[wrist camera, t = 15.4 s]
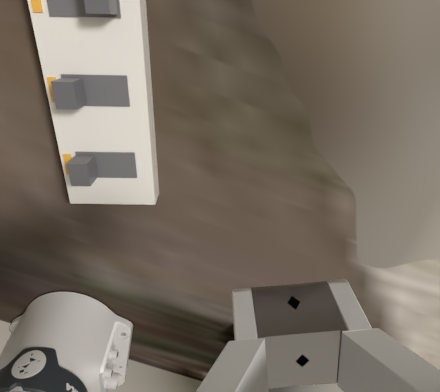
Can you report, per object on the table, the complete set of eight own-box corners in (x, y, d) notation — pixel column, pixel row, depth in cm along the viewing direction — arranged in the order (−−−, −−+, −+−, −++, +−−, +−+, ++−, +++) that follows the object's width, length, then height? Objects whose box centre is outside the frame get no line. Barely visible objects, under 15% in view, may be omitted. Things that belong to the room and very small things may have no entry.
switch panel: (159, 193, 42) (155, 205, 39) (79, 192, 42) (69, 204, 39) (141, -63, 30) (133, -72, 27) (29, -66, 30) (10, -76, 27)
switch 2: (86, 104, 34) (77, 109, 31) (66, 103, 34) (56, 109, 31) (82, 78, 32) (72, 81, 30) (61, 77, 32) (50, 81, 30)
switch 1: (98, 176, 37) (90, 186, 35) (79, 176, 37) (71, 186, 35) (94, 155, 36) (86, 164, 34) (75, 155, 36) (66, 163, 34)
